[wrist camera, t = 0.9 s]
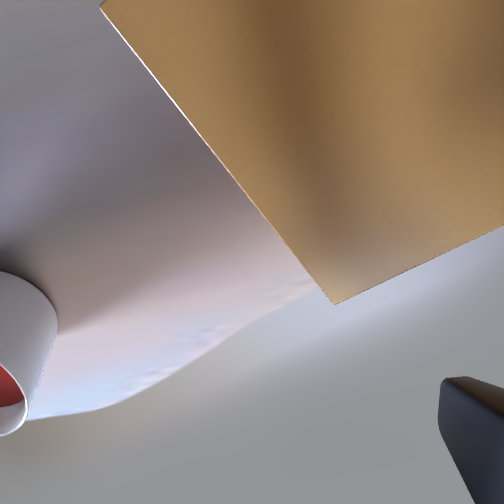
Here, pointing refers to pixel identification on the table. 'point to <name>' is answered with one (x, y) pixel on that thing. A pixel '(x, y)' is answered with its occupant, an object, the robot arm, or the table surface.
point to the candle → (22, 347)
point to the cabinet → (342, 119)
